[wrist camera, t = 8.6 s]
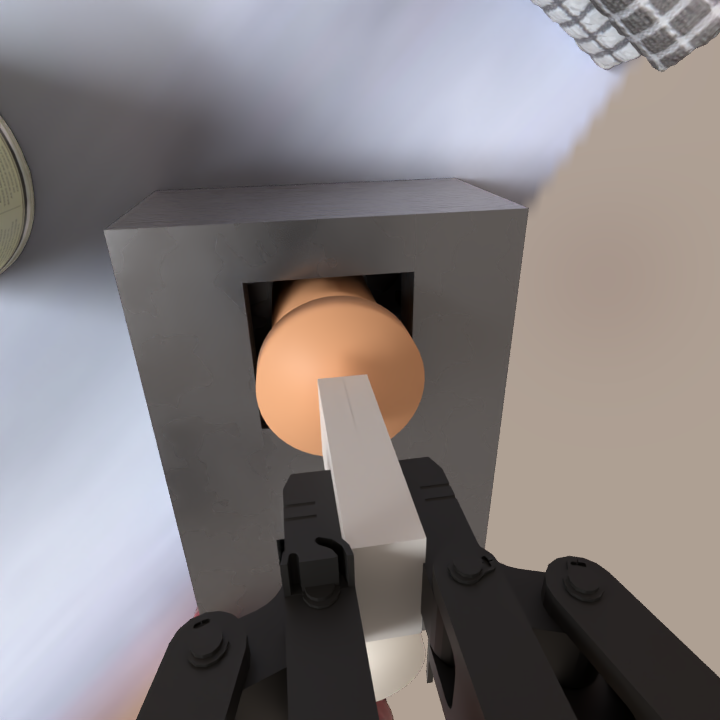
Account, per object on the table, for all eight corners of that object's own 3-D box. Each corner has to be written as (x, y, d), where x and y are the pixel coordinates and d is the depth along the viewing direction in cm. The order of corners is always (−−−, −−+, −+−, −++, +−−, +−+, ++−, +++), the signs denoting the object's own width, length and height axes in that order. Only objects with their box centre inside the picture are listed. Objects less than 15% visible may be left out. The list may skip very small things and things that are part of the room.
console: (433, 516, 35) (475, 622, 28) (225, 543, 33) (212, 664, 26) (455, 177, 25) (528, 208, 17) (155, 190, 23) (103, 230, 16)
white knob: (382, 536, 30) (422, 694, 22) (288, 548, 30) (294, 717, 21) (382, 461, 28) (428, 610, 20) (279, 473, 27) (282, 632, 19)
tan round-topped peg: (375, 341, 26) (421, 447, 18) (267, 350, 26) (265, 465, 18) (375, 234, 24) (427, 302, 16) (254, 241, 23) (245, 315, 15)
